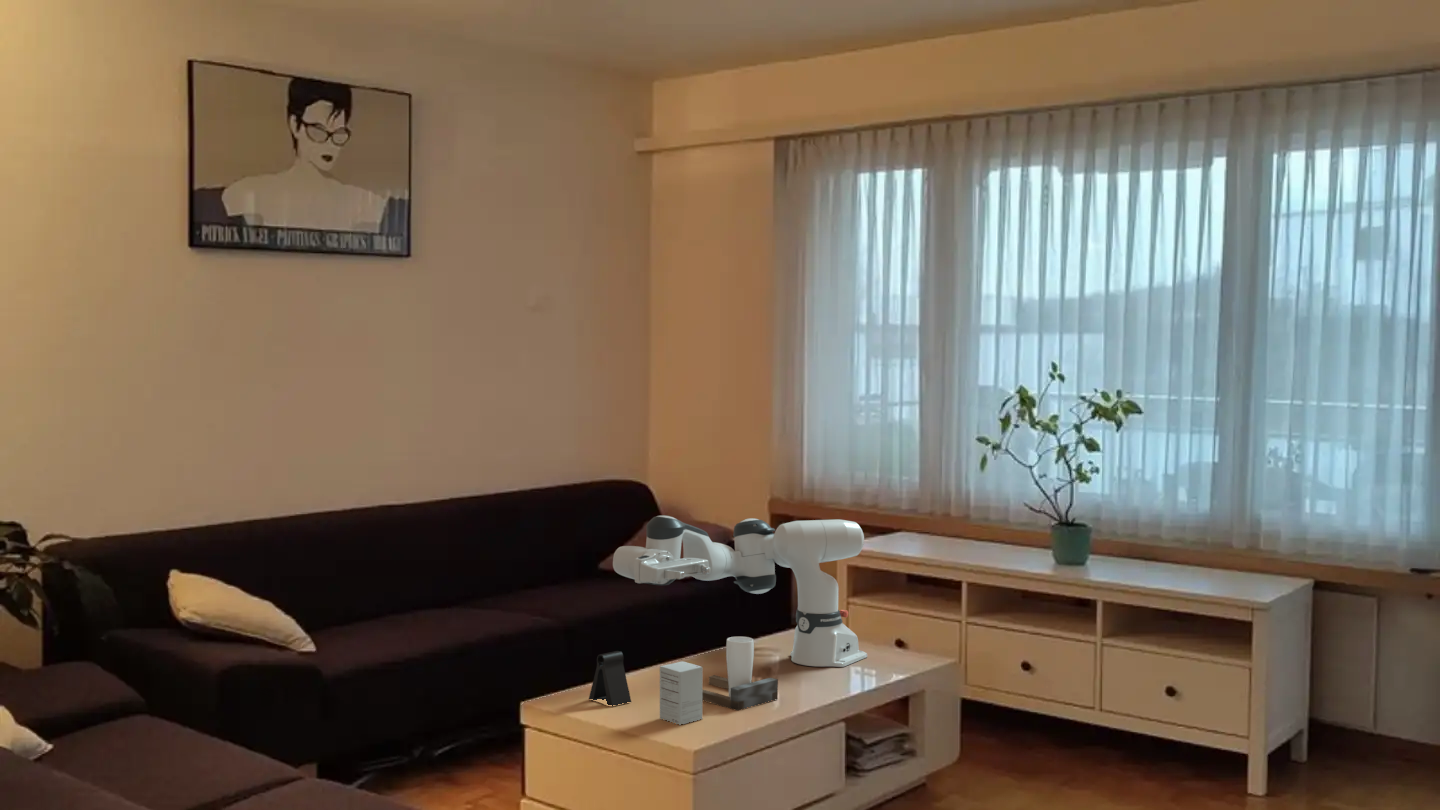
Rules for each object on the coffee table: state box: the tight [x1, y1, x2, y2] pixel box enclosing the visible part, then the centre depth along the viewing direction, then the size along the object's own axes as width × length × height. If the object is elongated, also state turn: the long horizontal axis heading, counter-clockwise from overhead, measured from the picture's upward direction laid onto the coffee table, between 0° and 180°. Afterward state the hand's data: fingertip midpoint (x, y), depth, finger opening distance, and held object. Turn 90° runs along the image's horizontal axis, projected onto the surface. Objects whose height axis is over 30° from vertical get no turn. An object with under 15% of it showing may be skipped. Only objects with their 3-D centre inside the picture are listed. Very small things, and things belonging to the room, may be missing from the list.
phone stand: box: [588, 650, 632, 706], centre depth 330 cm, size 9×6×12 cm, turn 44°
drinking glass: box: [725, 636, 755, 697], centre depth 333 cm, size 7×7×15 cm
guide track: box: [702, 674, 779, 711], centre depth 336 cm, size 14×22×5 cm, turn 45°
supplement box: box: [659, 660, 703, 726], centre depth 316 cm, size 7×7×13 cm
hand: (695, 573), depth 347 cm, fingers open, 8 cm apart
